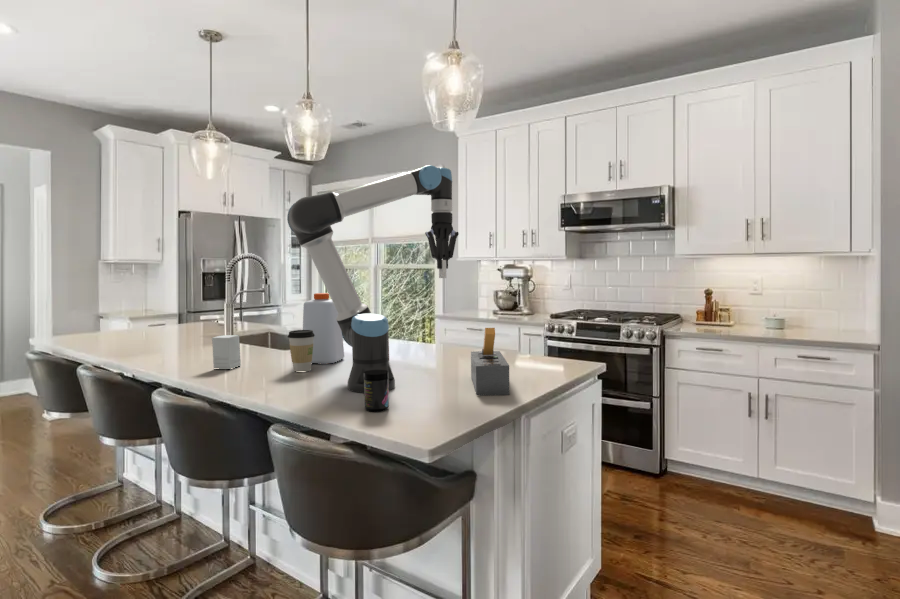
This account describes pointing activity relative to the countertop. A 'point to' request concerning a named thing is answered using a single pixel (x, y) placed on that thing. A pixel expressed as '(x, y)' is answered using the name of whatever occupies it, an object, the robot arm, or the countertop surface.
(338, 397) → the countertop surface
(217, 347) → the supplement box
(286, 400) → the countertop surface
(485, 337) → the lever
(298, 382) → the countertop surface
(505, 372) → the dark gray slotted block
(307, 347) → the coffee cup
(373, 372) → the supplement container
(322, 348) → the plastic bottle
